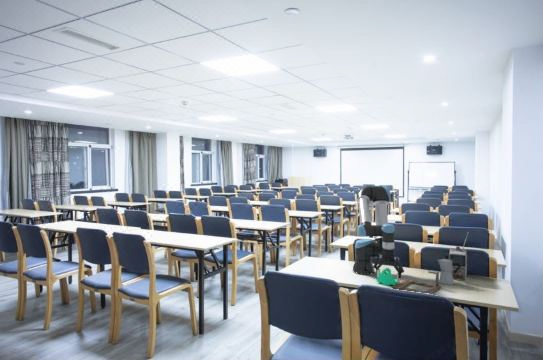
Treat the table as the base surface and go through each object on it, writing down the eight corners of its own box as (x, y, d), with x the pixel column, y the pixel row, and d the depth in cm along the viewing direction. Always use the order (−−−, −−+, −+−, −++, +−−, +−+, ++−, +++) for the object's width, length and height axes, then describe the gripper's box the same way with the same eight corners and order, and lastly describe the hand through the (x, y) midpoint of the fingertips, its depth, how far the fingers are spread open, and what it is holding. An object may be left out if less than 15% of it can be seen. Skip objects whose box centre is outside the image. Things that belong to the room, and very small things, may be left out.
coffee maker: (433, 282, 239) (433, 254, 238) (439, 279, 245) (439, 252, 245) (458, 287, 228) (458, 258, 228) (462, 284, 234) (463, 256, 234)
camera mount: (399, 283, 235) (399, 268, 235) (395, 286, 229) (395, 270, 229) (381, 280, 243) (381, 265, 242) (376, 283, 237) (376, 267, 236)
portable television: (448, 280, 243) (448, 235, 242) (449, 271, 264) (449, 230, 263) (468, 282, 237) (469, 236, 237) (468, 273, 258) (468, 231, 258)
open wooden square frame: (392, 288, 226) (392, 272, 226) (405, 280, 242) (405, 265, 241) (428, 296, 211) (428, 279, 211) (440, 287, 227) (440, 271, 227)
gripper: (368, 246, 242) (368, 278, 242) (404, 251, 225) (404, 286, 225) (373, 245, 247) (373, 276, 247) (409, 249, 231) (409, 283, 231)
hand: (388, 281), depth 236 cm, fingers open, 12 cm apart
